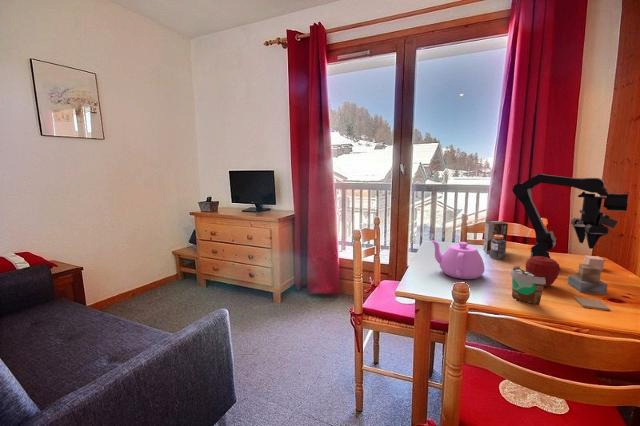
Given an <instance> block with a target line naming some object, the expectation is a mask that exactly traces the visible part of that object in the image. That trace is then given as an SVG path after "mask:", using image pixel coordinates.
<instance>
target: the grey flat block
mask: <svg viewBox="0 0 640 426" xmlns="http://www.w3.org/2000/svg"><path fill="white" fill-rule="evenodd" d="M567 277H568V278H567V285H569V286H570V287H572V288H573V289H575V290H576V291H578V292H579V293H584V294H585V293H586V294H597V295H599V294H600V295H607V290H608V284H607V283H606V282H604V281H602V280H600V282H599V283H596V282H588V281H581V279H580V278H579V277H578V274H568V276H567Z"/></svg>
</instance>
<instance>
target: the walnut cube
mask: <svg viewBox="0 0 640 426" xmlns="http://www.w3.org/2000/svg"><path fill="white" fill-rule="evenodd" d="M577 270H578V271H577V275H578V277H579V278H580V279H581V281H588V282H596V283H599V282H600V281H601V275H602V271H601V269H600V268H599V267H598V266H596V265H588V264H584V263H579V264H578V269H577Z"/></svg>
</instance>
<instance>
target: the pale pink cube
mask: <svg viewBox="0 0 640 426" xmlns="http://www.w3.org/2000/svg"><path fill="white" fill-rule="evenodd" d="M583 260H584V261H583V264H588V265H596V266H598V267H599V268H600V269H601V272H603V271H604V264H605V259H604V258H602V257H600V256H598V255H596V256H593V255H584V259H583Z"/></svg>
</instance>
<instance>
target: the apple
mask: <svg viewBox="0 0 640 426" xmlns="http://www.w3.org/2000/svg"><path fill="white" fill-rule="evenodd" d="M525 271H527V272H530V273H532V274H534V275H535V276H537V277H540V278H545V280H546V284H544V286H543V288H544V287H547V286H550V285H552V284H554V283H555V281H556V280H557V278H559V274H560V273H561V267H560V264H559V263H558V262H557V261H556V260H555V259H554V258H551V257H550V258H547V257H544V256H543V257H542V256H534V257H531V258H530V257H529V258H527V260H526V262H525Z"/></svg>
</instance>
